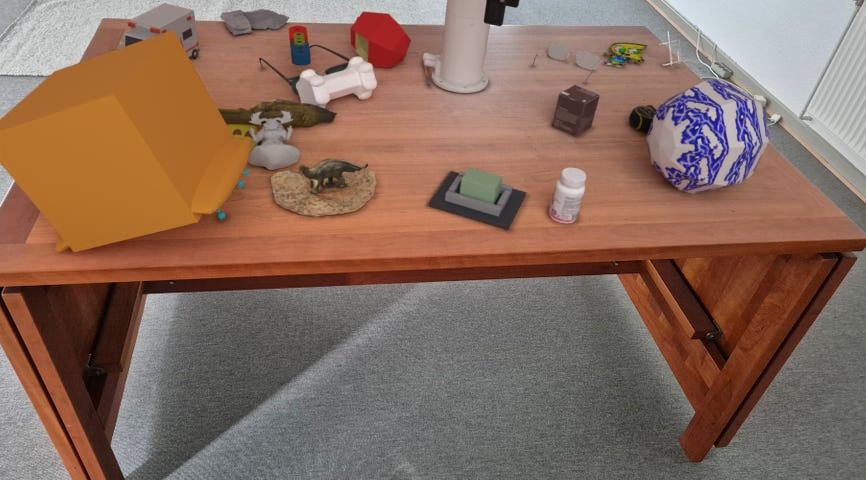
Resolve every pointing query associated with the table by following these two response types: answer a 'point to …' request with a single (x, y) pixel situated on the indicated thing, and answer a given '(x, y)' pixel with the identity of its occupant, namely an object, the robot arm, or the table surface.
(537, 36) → the table surface
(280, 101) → the circuit board
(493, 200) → the green rectangular block
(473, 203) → the base
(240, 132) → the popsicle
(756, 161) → the ornament
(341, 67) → the sunglasses
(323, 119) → the olive long flat piece
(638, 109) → the tape measure
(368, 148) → the table surface
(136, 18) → the toy vehicle
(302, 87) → the dog bone
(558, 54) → the eyeglasses
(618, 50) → the toy
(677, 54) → the airplane model
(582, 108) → the box
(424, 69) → the pen
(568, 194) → the pill bottle
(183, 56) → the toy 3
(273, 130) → the figurine
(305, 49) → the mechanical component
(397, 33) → the red angular block
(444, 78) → the robot arm
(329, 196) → the dinosaur figurine
